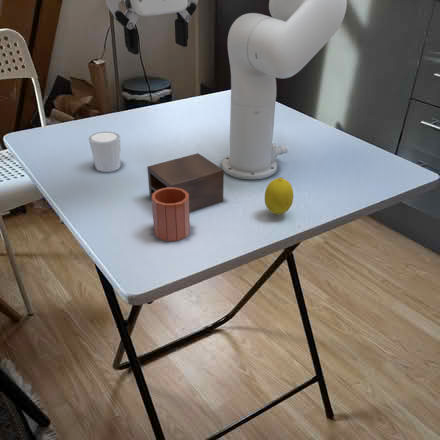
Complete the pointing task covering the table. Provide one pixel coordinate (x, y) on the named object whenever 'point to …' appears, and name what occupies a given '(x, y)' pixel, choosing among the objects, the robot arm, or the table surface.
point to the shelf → (189, 179)
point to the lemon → (279, 196)
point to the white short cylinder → (105, 150)
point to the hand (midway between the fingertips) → (157, 48)
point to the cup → (171, 213)
